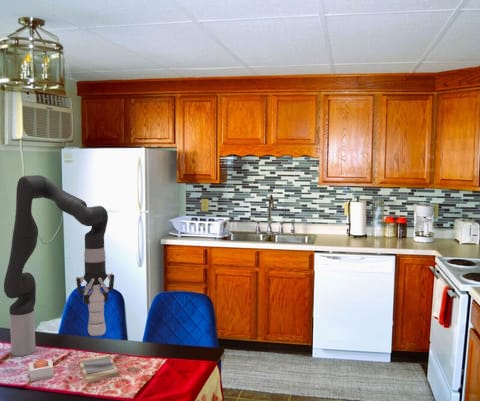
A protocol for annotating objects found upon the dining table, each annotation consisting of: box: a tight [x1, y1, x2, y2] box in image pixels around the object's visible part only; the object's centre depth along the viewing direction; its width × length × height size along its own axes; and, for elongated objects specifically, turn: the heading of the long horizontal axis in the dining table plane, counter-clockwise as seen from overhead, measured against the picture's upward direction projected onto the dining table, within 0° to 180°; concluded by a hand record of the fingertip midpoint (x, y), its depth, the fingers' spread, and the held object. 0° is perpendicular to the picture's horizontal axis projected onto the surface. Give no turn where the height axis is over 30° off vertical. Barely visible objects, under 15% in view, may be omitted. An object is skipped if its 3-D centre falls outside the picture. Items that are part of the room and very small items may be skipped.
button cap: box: [34, 359, 47, 368], centre depth 177 cm, size 4×4×4 cm
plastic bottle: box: [87, 284, 107, 337], centre depth 179 cm, size 6×7×20 cm
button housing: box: [28, 358, 55, 383], centre depth 177 cm, size 8×8×4 cm
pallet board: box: [78, 354, 120, 384], centre depth 182 cm, size 18×12×2 cm, turn 27°
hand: (96, 302), depth 179 cm, fingers closed on plastic bottle, 6 cm apart
